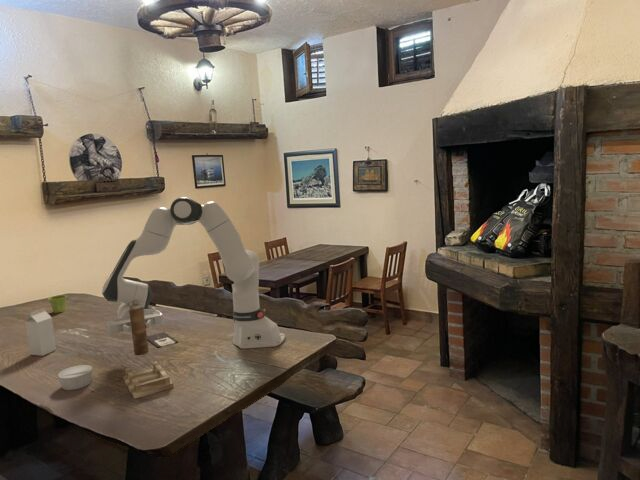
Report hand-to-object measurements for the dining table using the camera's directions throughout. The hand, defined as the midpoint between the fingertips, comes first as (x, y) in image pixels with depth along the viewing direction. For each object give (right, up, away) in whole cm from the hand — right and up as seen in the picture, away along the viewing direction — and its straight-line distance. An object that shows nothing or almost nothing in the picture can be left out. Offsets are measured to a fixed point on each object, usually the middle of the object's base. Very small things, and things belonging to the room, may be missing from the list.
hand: (138, 327), depth 173 cm
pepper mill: (0, -10, +2) cm, 10 cm away
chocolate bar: (-5, -14, +39) cm, 41 cm away
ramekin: (-21, -20, -4) cm, 29 cm away
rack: (+6, -19, -7) cm, 21 cm away
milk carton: (-54, -17, +31) cm, 65 cm away
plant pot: (-84, -9, +99) cm, 130 cm away
